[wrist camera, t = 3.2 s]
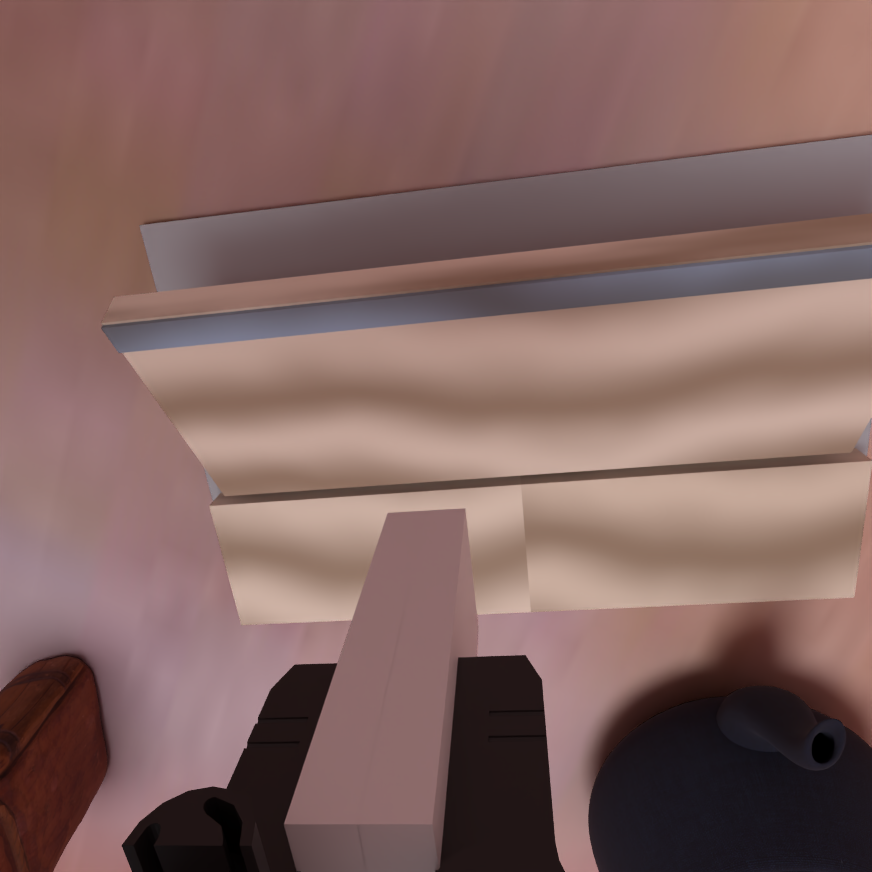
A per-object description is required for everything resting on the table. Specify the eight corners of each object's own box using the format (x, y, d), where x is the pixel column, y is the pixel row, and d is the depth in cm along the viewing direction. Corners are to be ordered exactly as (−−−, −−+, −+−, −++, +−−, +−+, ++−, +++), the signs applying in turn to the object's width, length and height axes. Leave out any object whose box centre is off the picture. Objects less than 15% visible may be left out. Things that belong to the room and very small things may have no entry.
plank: (113, 296, 24) (99, 326, 23) (956, 203, 20) (981, 233, 20) (230, 472, 32) (223, 499, 31) (839, 427, 29) (852, 455, 28)
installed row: (220, 493, 33) (209, 505, 32) (855, 448, 30) (872, 460, 28) (250, 608, 36) (241, 625, 34) (839, 580, 32) (854, 597, 31)
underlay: (143, 224, 29) (139, 225, 29) (902, 130, 25) (908, 130, 25) (244, 604, 36) (241, 609, 36) (846, 575, 33) (850, 580, 32)
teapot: (832, 911, 41) (959, 1190, 30) (579, 901, 43) (609, 1163, 32) (907, 568, 32) (1131, 784, 21) (583, 573, 34) (626, 776, 22)
